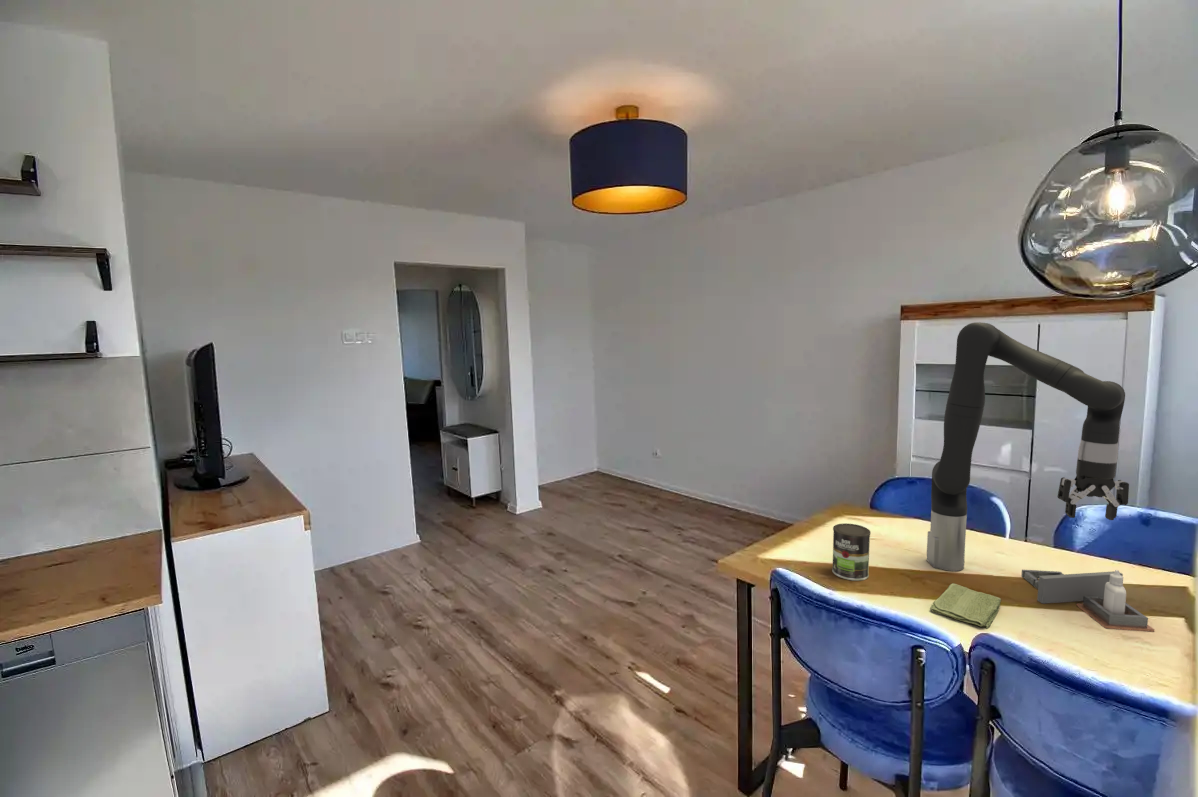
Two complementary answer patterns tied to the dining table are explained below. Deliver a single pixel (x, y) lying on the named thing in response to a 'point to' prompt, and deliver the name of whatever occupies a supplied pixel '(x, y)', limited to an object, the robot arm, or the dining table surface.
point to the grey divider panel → (1072, 586)
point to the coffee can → (851, 551)
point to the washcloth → (967, 605)
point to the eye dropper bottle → (1115, 594)
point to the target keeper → (1114, 615)
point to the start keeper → (1037, 575)
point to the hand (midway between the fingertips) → (1089, 518)
